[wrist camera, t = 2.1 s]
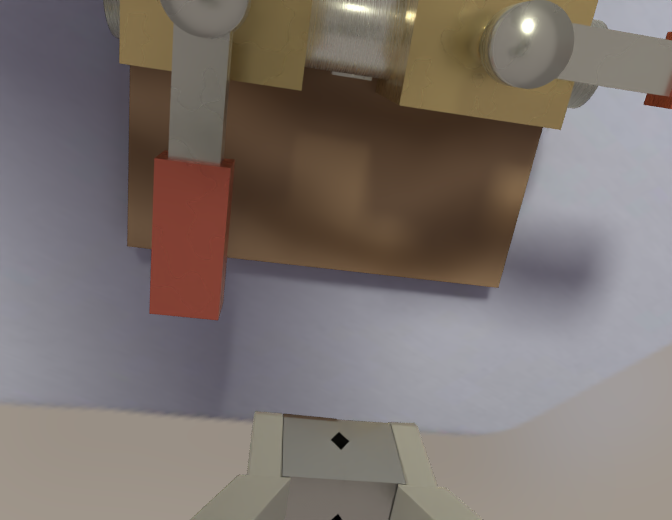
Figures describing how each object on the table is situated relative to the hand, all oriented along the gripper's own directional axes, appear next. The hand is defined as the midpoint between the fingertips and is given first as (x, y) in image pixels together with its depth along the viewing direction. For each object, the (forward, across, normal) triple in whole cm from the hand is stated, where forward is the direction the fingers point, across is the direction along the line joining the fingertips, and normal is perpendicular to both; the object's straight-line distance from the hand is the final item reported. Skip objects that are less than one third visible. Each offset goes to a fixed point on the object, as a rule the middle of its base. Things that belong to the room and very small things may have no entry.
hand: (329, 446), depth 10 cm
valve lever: (+13, +5, -3) cm, 14 cm away
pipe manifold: (+21, -4, -8) cm, 23 cm away
